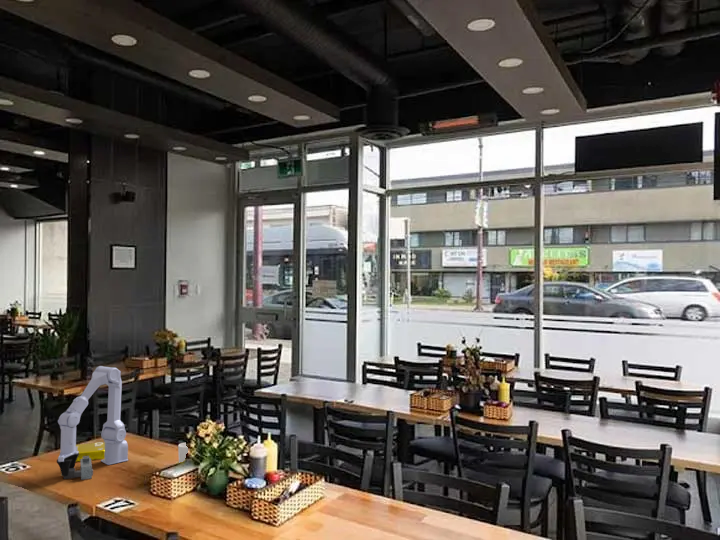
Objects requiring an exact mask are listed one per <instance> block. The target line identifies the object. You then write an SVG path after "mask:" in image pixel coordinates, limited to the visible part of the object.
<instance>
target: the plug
mask: <svg viewBox="0 0 720 540" xmlns="http://www.w3.org/2000/svg"><path fill="white" fill-rule="evenodd" d="M93 475H94V469H93V468H92V477H93ZM60 476H61V477H63V480H67V479H68V480H69V479H75V478H81V470H80V469H79V470H76V467H74V468H69V473H68V476H62V474H61V473H60Z"/></svg>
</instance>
